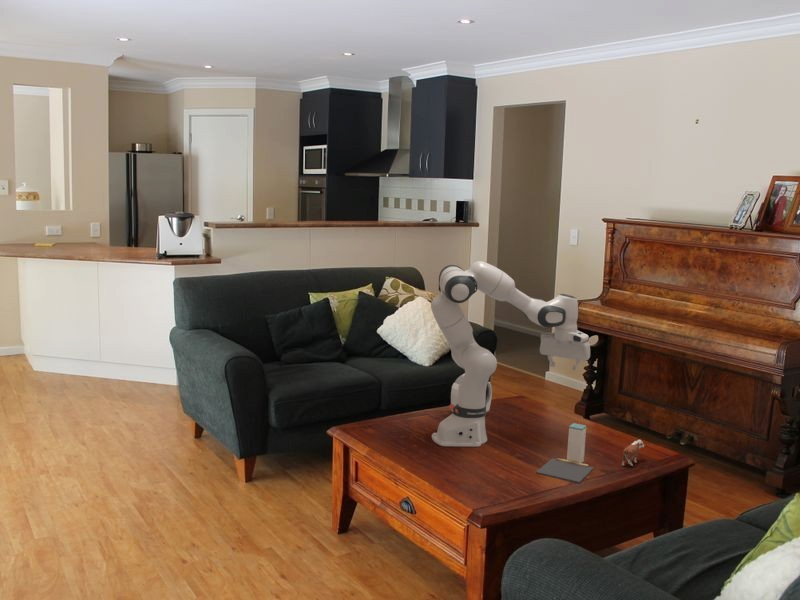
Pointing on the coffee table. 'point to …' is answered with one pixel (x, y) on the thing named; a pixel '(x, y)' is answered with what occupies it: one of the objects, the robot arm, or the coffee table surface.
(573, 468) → the charcoal rubber mat
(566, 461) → the oak stop strip
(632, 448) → the bull figurine
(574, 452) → the cream block
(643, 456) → the coffee table surface
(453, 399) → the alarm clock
